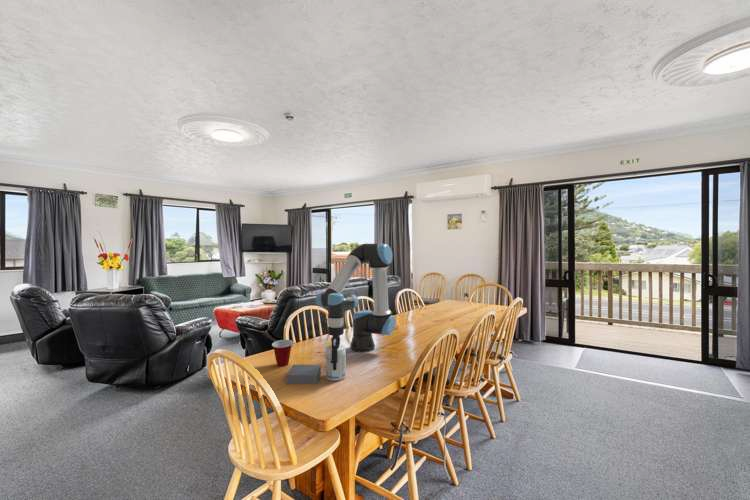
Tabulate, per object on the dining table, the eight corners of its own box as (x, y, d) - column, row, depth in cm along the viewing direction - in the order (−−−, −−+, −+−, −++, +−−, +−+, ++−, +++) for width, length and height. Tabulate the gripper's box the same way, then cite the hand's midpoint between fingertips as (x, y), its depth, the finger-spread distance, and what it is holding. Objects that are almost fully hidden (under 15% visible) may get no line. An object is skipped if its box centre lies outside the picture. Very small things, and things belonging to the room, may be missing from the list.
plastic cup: (267, 367, 180) (267, 344, 179) (279, 360, 190) (279, 338, 190) (285, 369, 176) (285, 346, 176) (296, 362, 186) (296, 340, 186)
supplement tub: (338, 372, 172) (338, 343, 172) (349, 378, 165) (349, 347, 165) (322, 377, 166) (321, 346, 166) (332, 383, 159) (332, 351, 158)
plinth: (321, 372, 172) (321, 364, 172) (316, 383, 158) (316, 375, 158) (293, 372, 172) (293, 364, 172) (286, 383, 158) (286, 375, 158)
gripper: (330, 320, 176) (330, 364, 176) (325, 331, 154) (325, 381, 154) (345, 320, 176) (345, 364, 177) (341, 331, 154) (341, 381, 154)
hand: (335, 372), depth 165 cm, fingers closed on supplement tub, 9 cm apart
